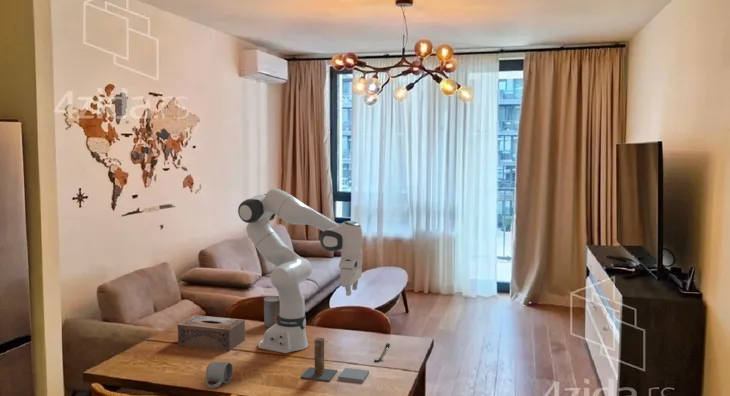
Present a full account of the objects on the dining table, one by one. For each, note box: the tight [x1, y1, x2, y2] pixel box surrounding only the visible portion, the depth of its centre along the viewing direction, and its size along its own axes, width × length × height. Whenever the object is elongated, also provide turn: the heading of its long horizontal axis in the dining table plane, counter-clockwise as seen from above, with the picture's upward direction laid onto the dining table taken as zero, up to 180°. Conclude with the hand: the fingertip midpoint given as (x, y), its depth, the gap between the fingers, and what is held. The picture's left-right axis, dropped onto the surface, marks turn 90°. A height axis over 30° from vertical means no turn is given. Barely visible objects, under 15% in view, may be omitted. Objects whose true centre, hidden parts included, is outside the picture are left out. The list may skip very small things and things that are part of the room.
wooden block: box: [314, 337, 325, 375], centre depth 225 cm, size 3×3×14 cm
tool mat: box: [300, 366, 338, 383], centre depth 226 cm, size 12×10×1 cm
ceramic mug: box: [205, 361, 234, 389], centre depth 217 cm, size 11×8×8 cm
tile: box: [337, 367, 370, 384], centre depth 224 cm, size 10×2×9 cm
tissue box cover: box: [177, 314, 246, 352], centre depth 260 cm, size 26×14×10 cm, turn 75°
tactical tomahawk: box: [373, 342, 391, 363], centre depth 249 cm, size 21×7×1 cm, turn 164°
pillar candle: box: [263, 295, 280, 329], centre depth 286 cm, size 10×10×15 cm
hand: (351, 292), depth 239 cm, fingers open, 8 cm apart
